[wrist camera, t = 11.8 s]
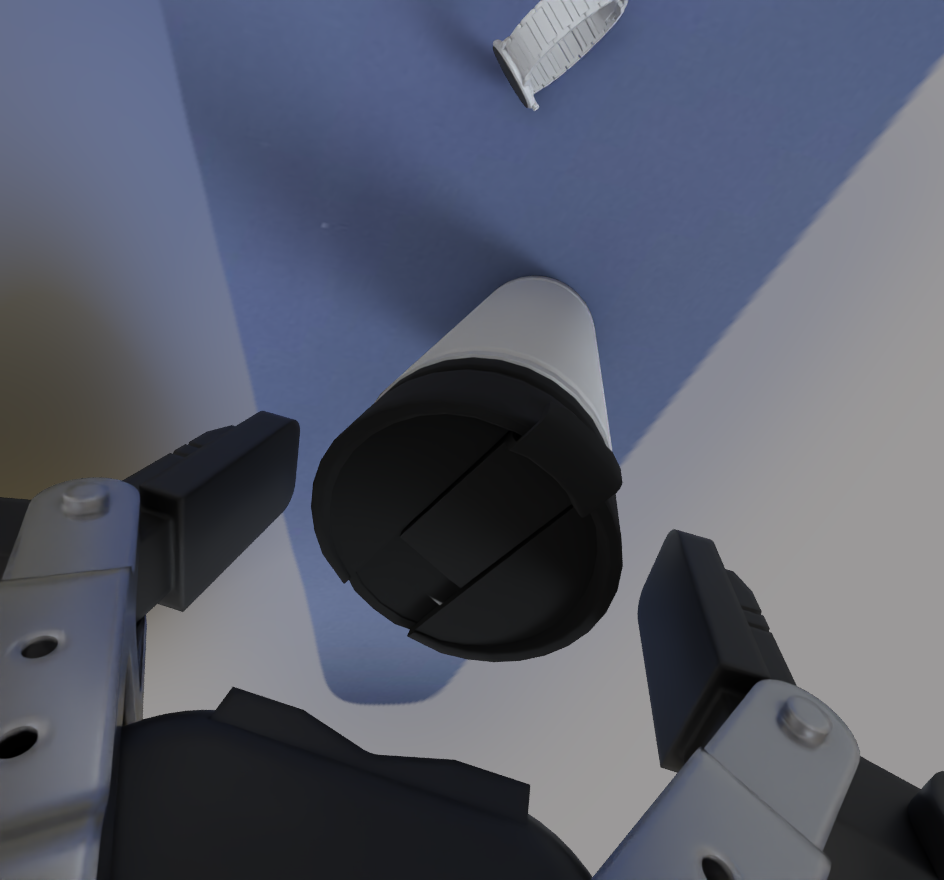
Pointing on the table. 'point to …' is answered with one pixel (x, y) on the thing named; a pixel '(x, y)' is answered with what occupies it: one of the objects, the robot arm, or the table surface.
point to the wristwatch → (553, 42)
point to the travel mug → (484, 484)
